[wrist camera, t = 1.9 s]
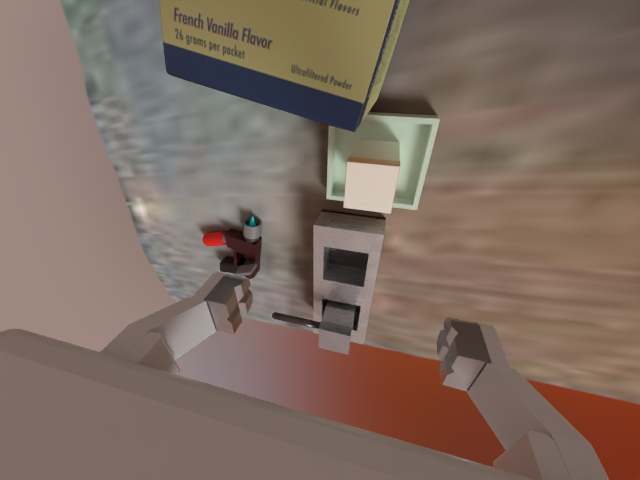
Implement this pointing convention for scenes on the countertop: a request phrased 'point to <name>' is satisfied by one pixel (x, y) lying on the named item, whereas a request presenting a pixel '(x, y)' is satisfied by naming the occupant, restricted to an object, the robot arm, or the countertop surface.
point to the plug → (372, 176)
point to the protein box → (287, 52)
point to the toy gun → (239, 248)
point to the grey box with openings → (342, 277)
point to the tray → (397, 127)
